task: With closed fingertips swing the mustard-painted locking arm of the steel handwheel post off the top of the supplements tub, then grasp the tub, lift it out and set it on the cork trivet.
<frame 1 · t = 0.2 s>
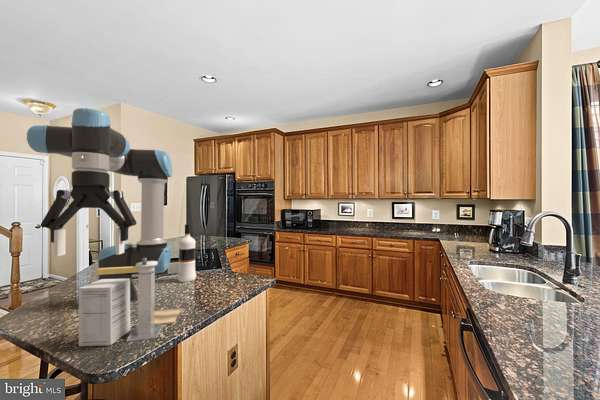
hand: (90, 254, 65), 28 cm above the counter, fingers open, 13 cm apart
vodka: (187, 280, 137), on the counter
supplement box: (105, 338, 78), on the counter
post: (146, 333, 80), on the counter
handwheel arm: (128, 265, 79), point 22 cm above the counter, hinge at 0.0°
trivet: (159, 317, 91), on the counter
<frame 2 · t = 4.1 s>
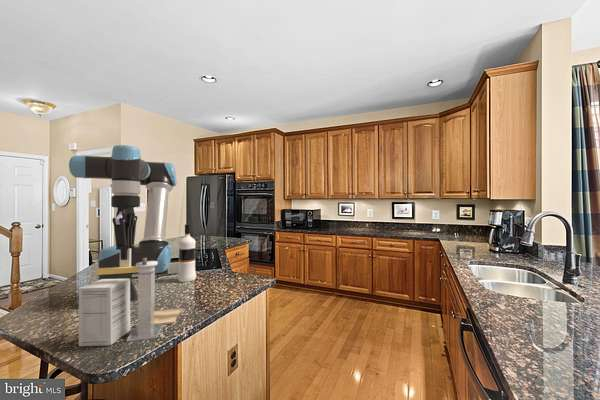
hand: (125, 269, 80), 20 cm above the counter, fingers closed
handwheel arm: (128, 265, 79), point 22 cm above the counter, hinge at 0.2°, touching gripper
everything else where it was.
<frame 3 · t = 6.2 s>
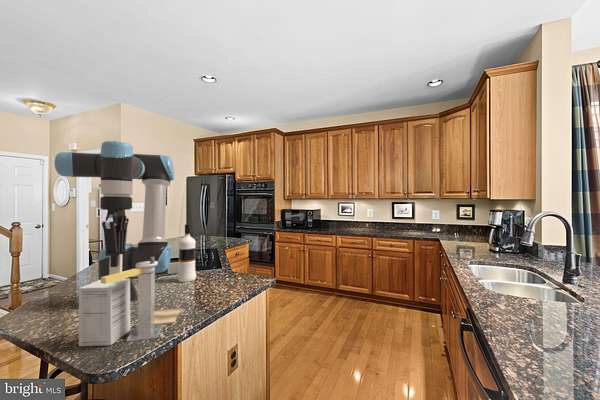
hand: (115, 277, 74), 20 cm above the counter, fingers closed
handwheel arm: (131, 268, 76), point 22 cm above the counter, hinge at 57.7°, touching gripper
everything else where it was.
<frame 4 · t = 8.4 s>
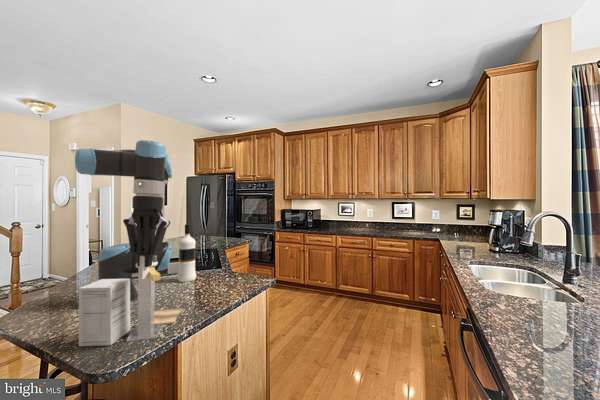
hand: (144, 277, 73), 20 cm above the counter, fingers closed
handwheel arm: (150, 267, 77), point 22 cm above the counter, hinge at 117.2°, touching gripper
everything else where it was.
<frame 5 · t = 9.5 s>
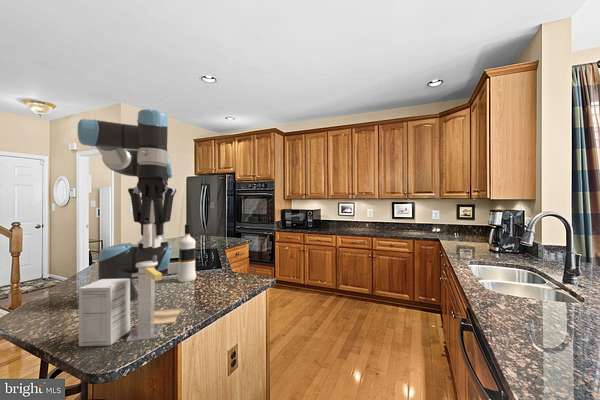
hand: (151, 246, 73), 28 cm above the counter, fingers open, 2 cm apart
handwheel arm: (151, 267, 77), point 22 cm above the counter, hinge at 119.2°
everything else where it was.
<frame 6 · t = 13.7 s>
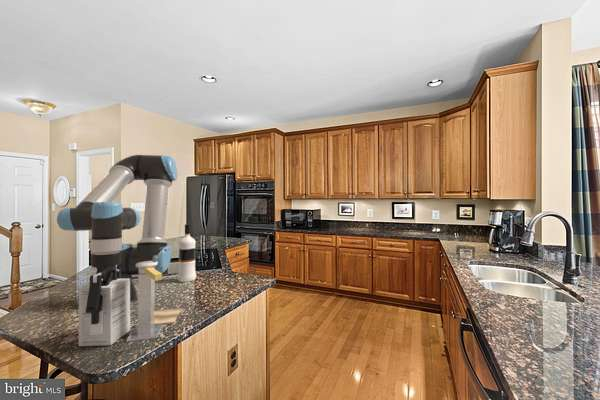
hand: (105, 325, 78), 4 cm above the counter, fingers closed on supplement box, 10 cm apart
supplement box: (105, 338, 78), on the counter, touching gripper
everything else where it was.
when the fingers open (6 cm above the counter, at t = 21.5 s): supplement box drops 1 cm, resting on trivet.
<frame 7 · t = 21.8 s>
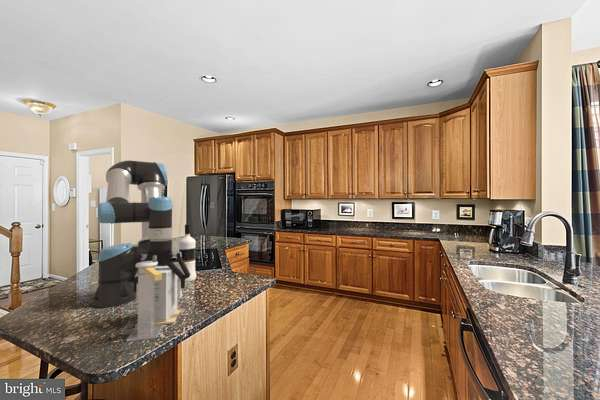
hand: (159, 299, 91), 7 cm above the counter, fingers open, 13 cm apart
supplement box: (159, 316, 91), resting on trivet
everything else where it was.
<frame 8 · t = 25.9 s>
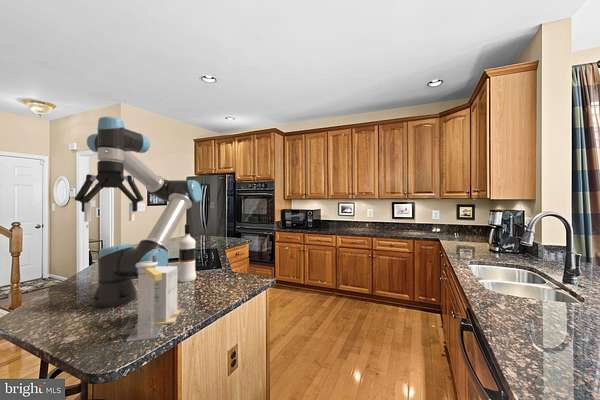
hand: (110, 221, 91), 35 cm above the counter, fingers open, 13 cm apart
nothing on the counter moved.
at the end: supplement box inside the target area on the trivet (0.2 cm from its centre), point 0.4 cm above the trivet's base; supplement box tilted 0°; handwheel arm at +119° (first picture: +0°) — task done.
